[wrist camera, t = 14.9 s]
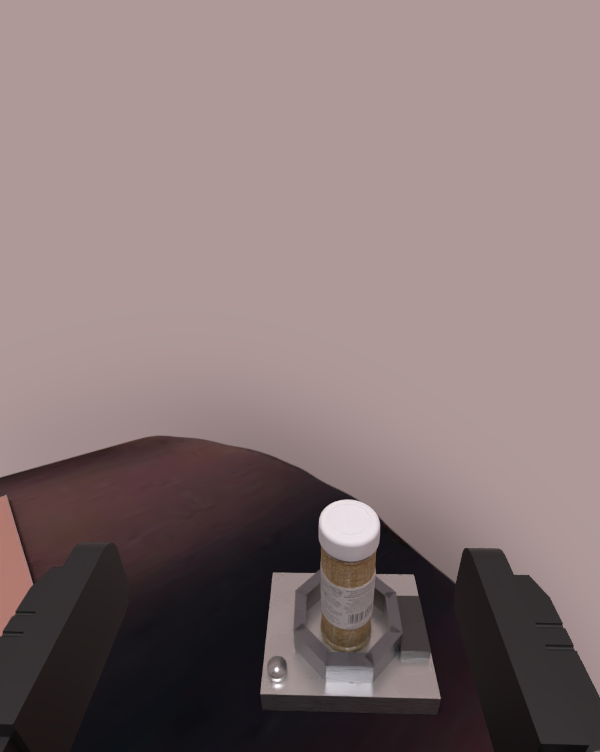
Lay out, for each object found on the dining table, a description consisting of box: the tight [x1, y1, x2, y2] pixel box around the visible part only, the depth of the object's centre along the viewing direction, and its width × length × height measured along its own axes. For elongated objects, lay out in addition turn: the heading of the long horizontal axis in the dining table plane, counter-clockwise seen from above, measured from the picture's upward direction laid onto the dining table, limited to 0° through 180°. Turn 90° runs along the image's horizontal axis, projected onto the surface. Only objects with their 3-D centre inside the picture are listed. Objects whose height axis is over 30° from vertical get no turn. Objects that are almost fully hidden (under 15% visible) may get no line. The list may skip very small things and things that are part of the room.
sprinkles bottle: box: [319, 500, 380, 652], centre depth 36 cm, size 5×5×13 cm
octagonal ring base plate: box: [260, 569, 441, 715], centre depth 39 cm, size 14×11×5 cm
